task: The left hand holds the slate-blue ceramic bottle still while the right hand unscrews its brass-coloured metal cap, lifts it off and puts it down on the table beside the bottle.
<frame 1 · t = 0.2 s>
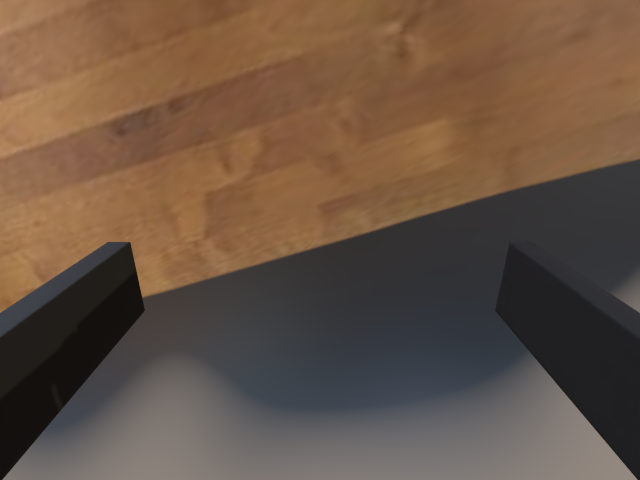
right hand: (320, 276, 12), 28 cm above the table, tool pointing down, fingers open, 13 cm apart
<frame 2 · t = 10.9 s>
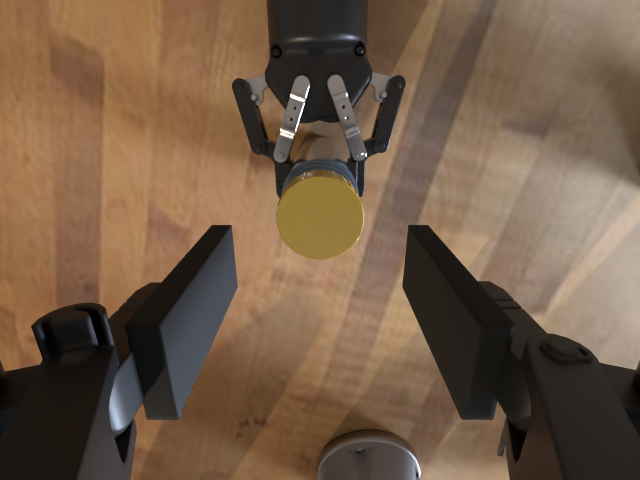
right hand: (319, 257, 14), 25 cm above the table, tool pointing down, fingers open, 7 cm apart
left hand: (321, 200, 32), fingers closed on bottle, 5 cm apart
cap: (320, 218, 19), point 20 cm above the table, screwed on, not yet turned
bottle: (320, 160, 37), on the table, touching left hand
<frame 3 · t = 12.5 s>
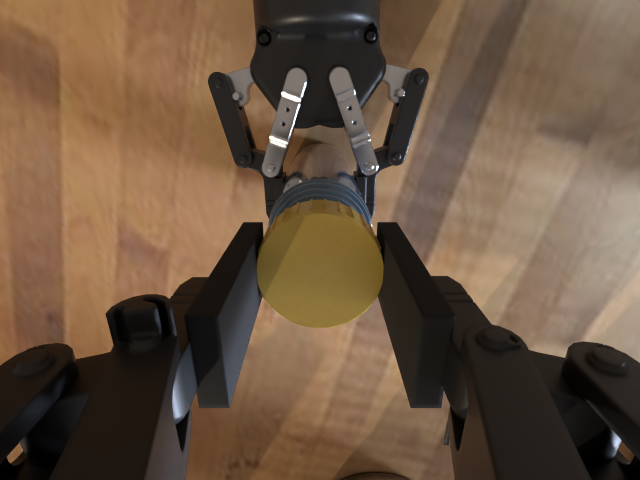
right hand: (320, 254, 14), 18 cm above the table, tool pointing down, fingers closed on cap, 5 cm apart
left hand: (321, 223, 26), fingers closed on bottle, 5 cm apart
cap: (320, 270, 13), point 20 cm above the table, screwed on, not yet turned, touching right hand
bottle: (320, 171, 31), on the table, touching left hand
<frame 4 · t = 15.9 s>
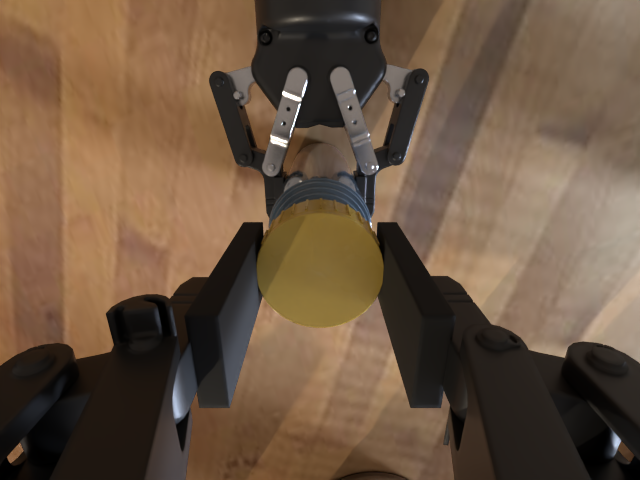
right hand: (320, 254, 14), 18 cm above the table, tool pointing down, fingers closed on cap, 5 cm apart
left hand: (320, 222, 26), fingers closed on bottle, 5 cm apart
cap: (320, 270, 13), point 20 cm above the table, turned 107° so far, risen 0.1 cm, still on its thread, touching right hand
bottle: (320, 171, 31), on the table, touching left hand
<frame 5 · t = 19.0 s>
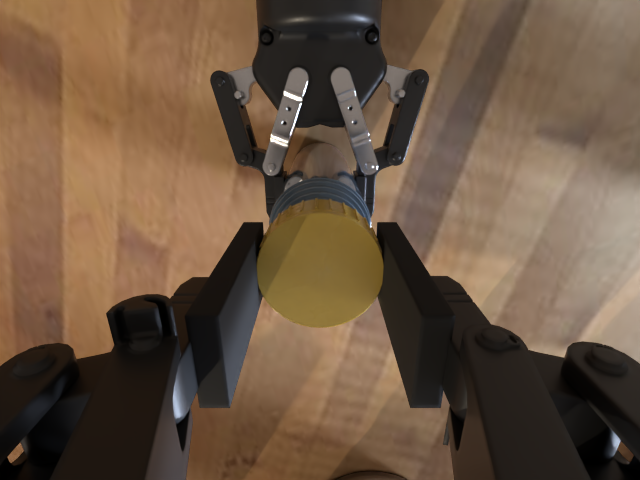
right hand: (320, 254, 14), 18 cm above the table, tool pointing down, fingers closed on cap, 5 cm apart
left hand: (320, 221, 26), fingers closed on bottle, 5 cm apart
cap: (320, 270, 13), point 20 cm above the table, turned 215° so far, risen 0.2 cm, still on its thread, touching right hand
bottle: (320, 171, 31), on the table, touching left hand
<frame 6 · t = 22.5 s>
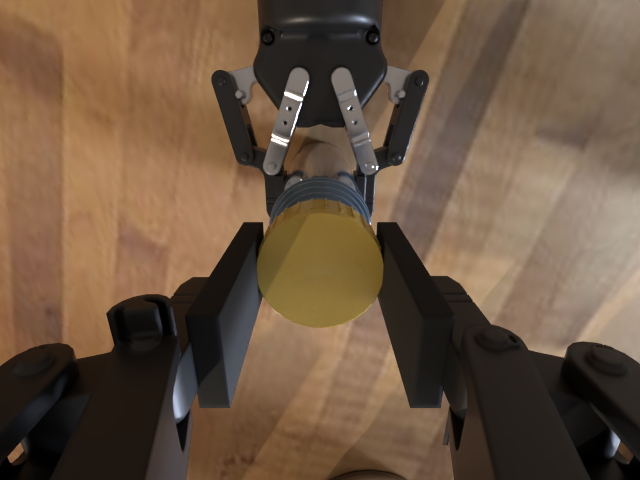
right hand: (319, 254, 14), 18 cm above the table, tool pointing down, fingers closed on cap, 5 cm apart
left hand: (320, 221, 26), fingers closed on bottle, 5 cm apart
cap: (320, 270, 13), point 20 cm above the table, turned 322° so far, risen 0.3 cm, still on its thread, touching right hand
bottle: (320, 171, 31), on the table, touching left hand
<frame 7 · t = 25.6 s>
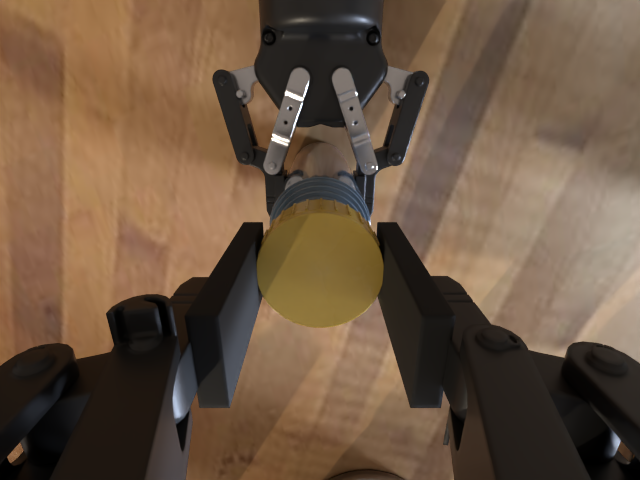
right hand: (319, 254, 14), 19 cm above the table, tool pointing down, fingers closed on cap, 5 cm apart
left hand: (320, 220, 26), fingers closed on bottle, 5 cm apart
cap: (320, 270, 13), point 20 cm above the table, turned 429° so far, risen 0.4 cm, still on its thread, touching right hand
bottle: (320, 170, 32), on the table, touching left hand
when the right hand's fingers open (2 cm above the table, at t = 31.7 s): cap drops 2 cm, point 2 cm above the table.
when the left hand's fingers open (7 cm above the table, at t = 33.0 s): bottle stays where it is, on the table.
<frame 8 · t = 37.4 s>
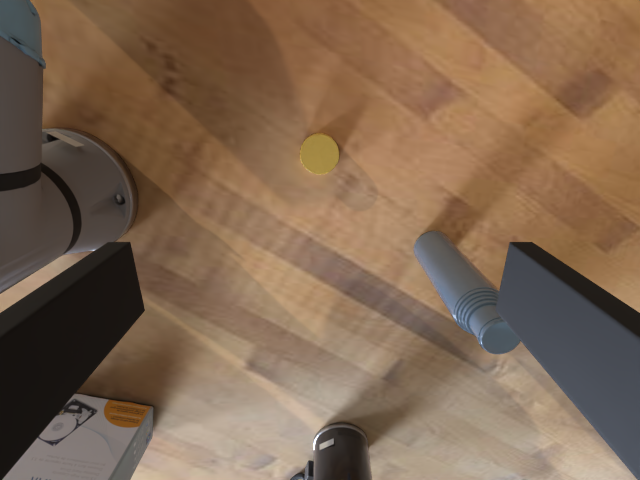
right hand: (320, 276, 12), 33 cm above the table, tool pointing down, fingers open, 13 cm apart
cap: (319, 154, 41), point 2 cm above the table, off its thread
hard drive box: (107, 413, 58), on the table
bottle: (432, 248, 48), on the table
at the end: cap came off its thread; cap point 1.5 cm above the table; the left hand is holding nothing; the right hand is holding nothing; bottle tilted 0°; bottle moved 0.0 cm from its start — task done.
